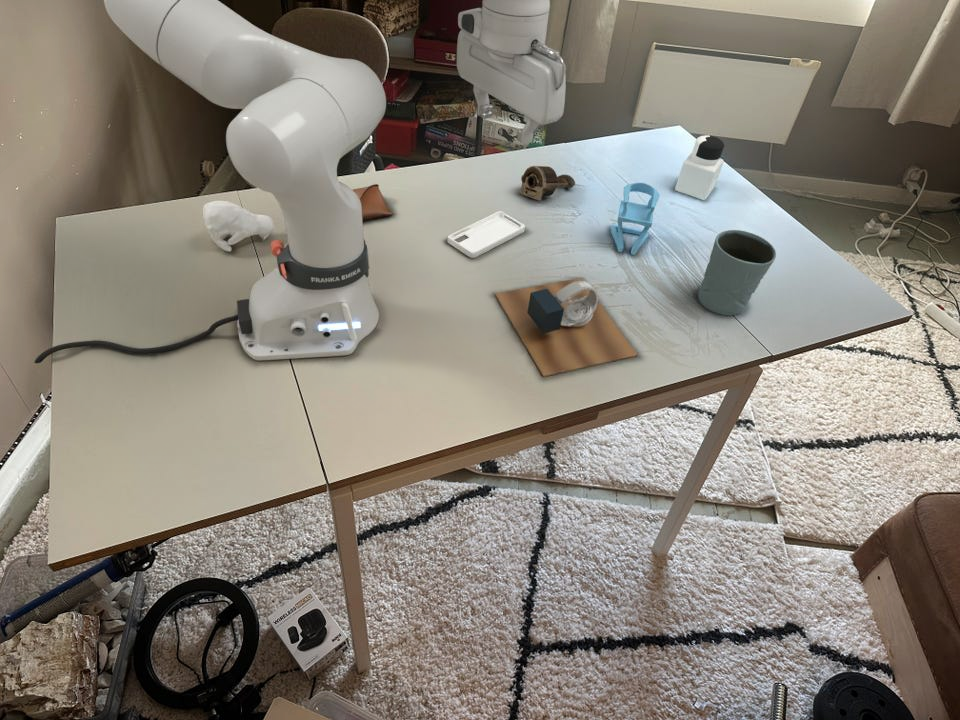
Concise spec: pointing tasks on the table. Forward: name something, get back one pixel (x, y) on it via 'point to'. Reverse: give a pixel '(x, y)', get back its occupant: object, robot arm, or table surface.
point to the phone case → (486, 234)
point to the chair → (635, 215)
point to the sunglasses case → (372, 203)
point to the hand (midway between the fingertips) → (503, 129)
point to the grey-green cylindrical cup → (734, 271)
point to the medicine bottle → (701, 168)
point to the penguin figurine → (233, 223)
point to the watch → (553, 315)
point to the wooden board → (565, 334)
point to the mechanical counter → (543, 182)
